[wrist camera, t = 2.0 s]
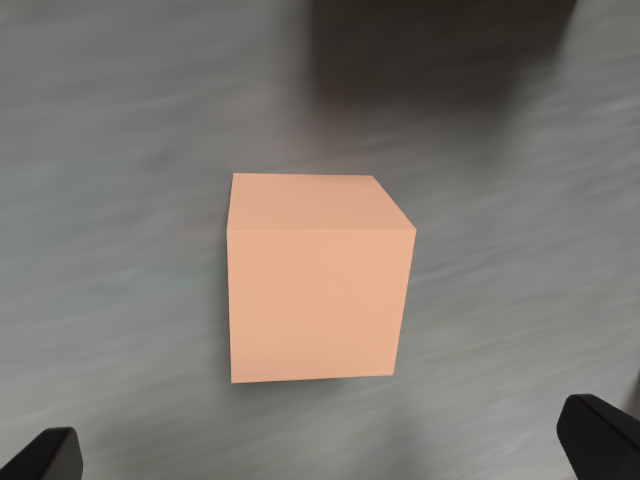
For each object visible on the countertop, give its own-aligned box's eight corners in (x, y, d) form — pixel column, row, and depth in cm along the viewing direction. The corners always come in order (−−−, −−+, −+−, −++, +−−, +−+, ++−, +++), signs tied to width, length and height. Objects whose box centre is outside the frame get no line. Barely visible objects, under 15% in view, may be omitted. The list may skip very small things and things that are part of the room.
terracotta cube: (236, 294, 16) (231, 383, 12) (233, 172, 14) (226, 229, 10) (358, 291, 17) (392, 374, 13) (371, 174, 15) (416, 229, 11)
